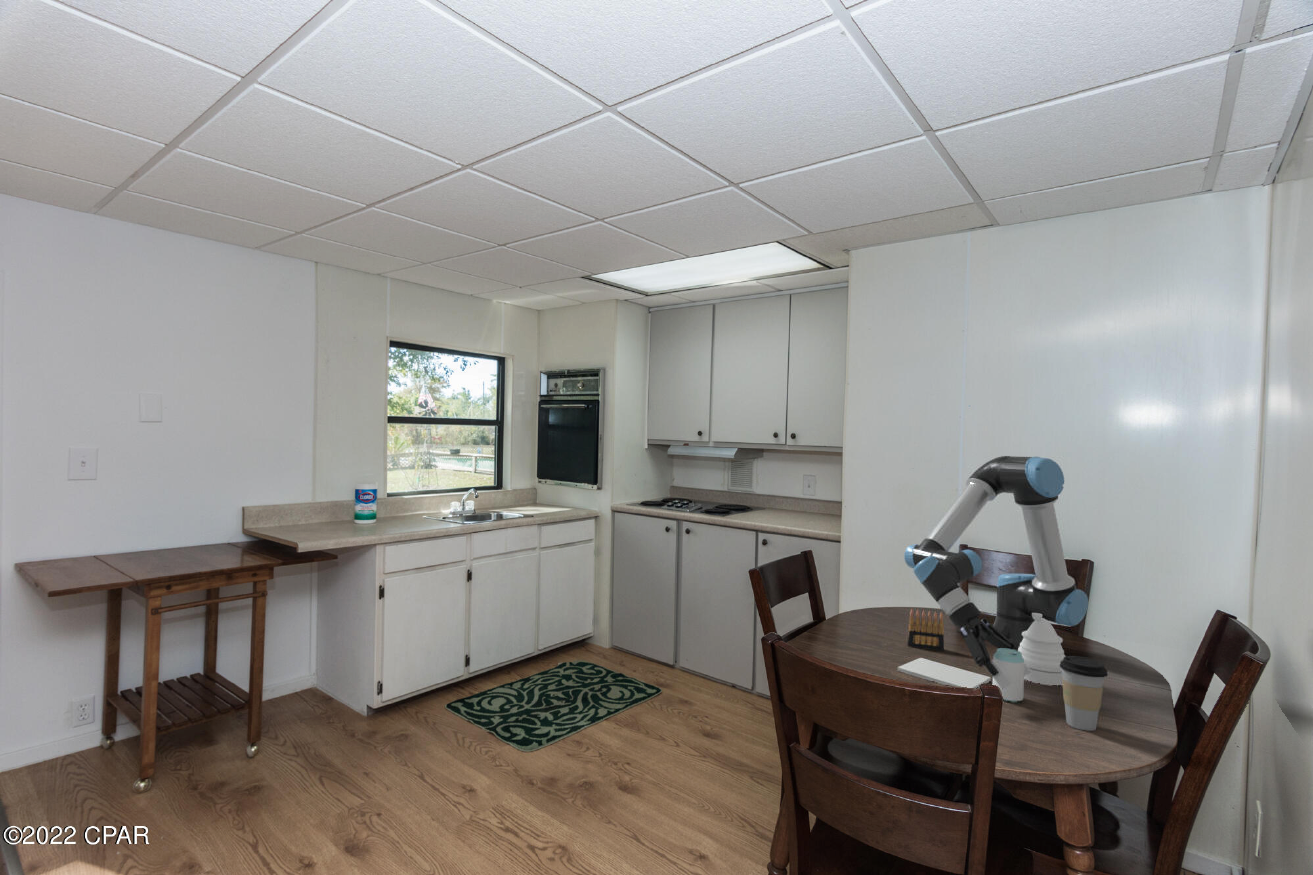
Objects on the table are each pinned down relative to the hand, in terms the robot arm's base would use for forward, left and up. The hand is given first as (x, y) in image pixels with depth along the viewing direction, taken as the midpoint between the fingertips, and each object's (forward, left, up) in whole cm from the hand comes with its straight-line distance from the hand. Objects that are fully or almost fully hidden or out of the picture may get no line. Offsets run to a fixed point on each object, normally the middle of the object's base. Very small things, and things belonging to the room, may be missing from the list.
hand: (1017, 680), depth 164 cm
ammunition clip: (+12, -41, -5) cm, 42 cm away
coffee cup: (-9, +12, -5) cm, 16 cm away
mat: (+14, -15, -5) cm, 21 cm away
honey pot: (-14, -21, -5) cm, 26 cm away
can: (+2, -2, -5) cm, 6 cm away
